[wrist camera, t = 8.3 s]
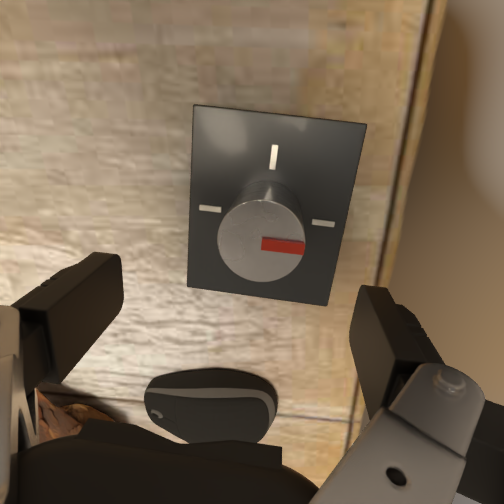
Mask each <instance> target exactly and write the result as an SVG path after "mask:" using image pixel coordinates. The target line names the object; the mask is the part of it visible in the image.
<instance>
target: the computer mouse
mask: <svg viewBox="0 0 504 504" xmlns="http://www.w3.org/2000/svg"><path fill="white" fill-rule="evenodd" d="M144 402H145V406H146V411H147V413H148V415H149V417H150V419H151V420H152V421H153V422H154V423H155V424H156V425H158V426H160V427H161V428H163V429H165V430H167V431H168V432H170V433H172V434H173V435H175V436H177V437H179V438H181V439H182V440H185V441H186V442H188V443H201V442H212V441H224V440H239V441H246V442H252V443H257V442H259V441H260V440H261V439H262V438H263V437H264V436H265V434H266V432H267V431H268V429H269V428H270V426H271V424H272V422H273V421H274V418H275V416H276V412H277V397H276V394H275V392H274V390H273V388H272V387H271V386H270V385H269V384H268V383H267V382H265V381H264V380H262V379H260V378H258V377H255V376H252V375H249V374H245V373H241V372H235V371H229V370H199V371H189V372H181V373H174V374H169V375H165V376H161V377H157V378H154V379H153V380H152V381H151V382H150V384H149V385H148V387H147V388H146V390H145V394H144Z"/></svg>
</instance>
